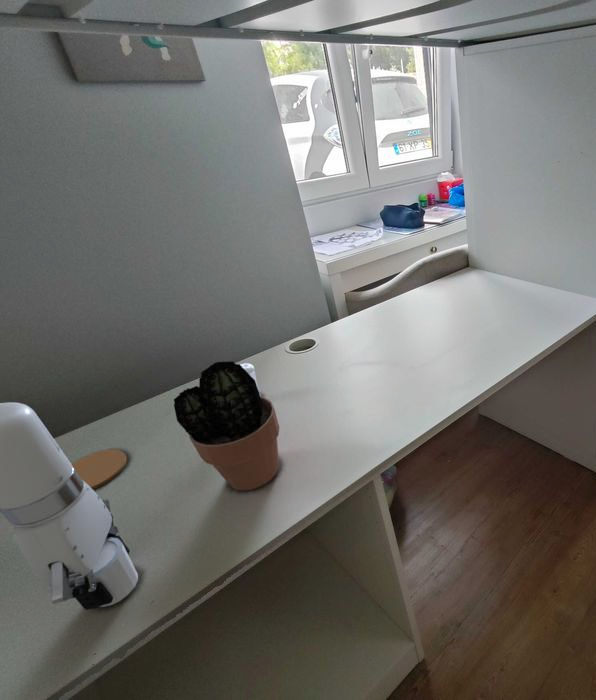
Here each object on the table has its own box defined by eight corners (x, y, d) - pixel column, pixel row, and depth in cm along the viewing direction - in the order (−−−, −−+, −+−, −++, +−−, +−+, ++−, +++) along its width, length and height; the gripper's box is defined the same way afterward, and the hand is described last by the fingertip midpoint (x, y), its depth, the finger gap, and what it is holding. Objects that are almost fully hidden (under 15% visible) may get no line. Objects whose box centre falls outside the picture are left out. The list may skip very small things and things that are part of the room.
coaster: (46, 501, 80) (44, 499, 79) (71, 460, 89) (69, 457, 88) (116, 484, 83) (115, 482, 82) (133, 445, 92) (132, 443, 91)
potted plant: (261, 439, 92) (221, 333, 79) (307, 461, 85) (272, 350, 73) (199, 484, 82) (141, 371, 69) (246, 513, 75) (193, 395, 63)
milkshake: (237, 406, 102) (222, 370, 96) (250, 392, 106) (237, 357, 101) (255, 407, 101) (241, 371, 96) (267, 393, 105) (255, 358, 100)
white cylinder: (137, 557, 69) (116, 528, 66) (148, 586, 65) (127, 557, 61) (83, 588, 65) (58, 559, 62) (91, 622, 61) (65, 592, 57)
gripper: (39, 455, 61) (100, 538, 70) (-37, 566, 47) (52, 651, 56) (102, 441, 63) (154, 523, 72) (47, 543, 49) (120, 629, 58)
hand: (109, 578), depth 64 cm, fingers closed on white cylinder, 6 cm apart
